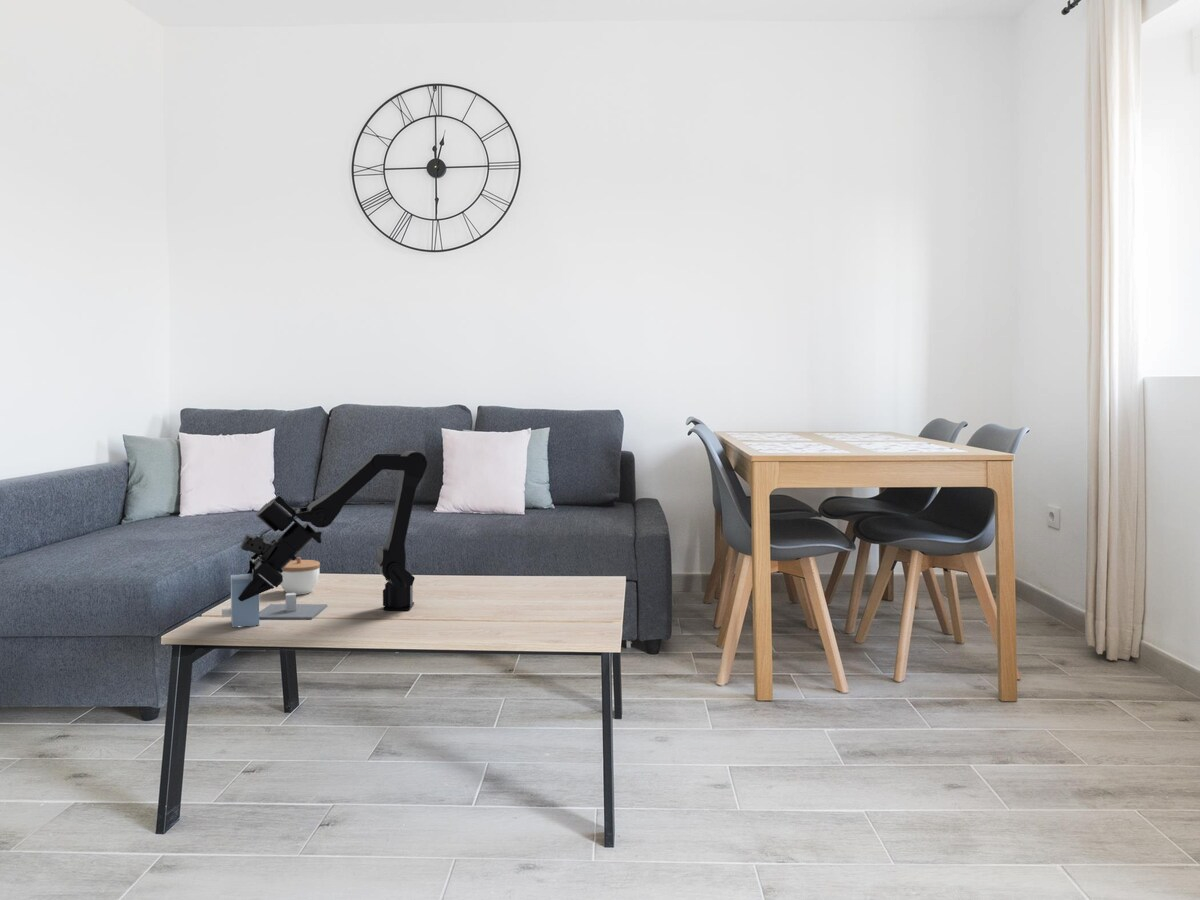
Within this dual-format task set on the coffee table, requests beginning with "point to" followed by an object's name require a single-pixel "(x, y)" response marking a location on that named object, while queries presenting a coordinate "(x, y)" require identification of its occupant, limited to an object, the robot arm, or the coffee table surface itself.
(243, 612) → the tall blue rectangular block
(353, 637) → the coffee table surface
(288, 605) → the flat square base plate
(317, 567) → the lidded jar
